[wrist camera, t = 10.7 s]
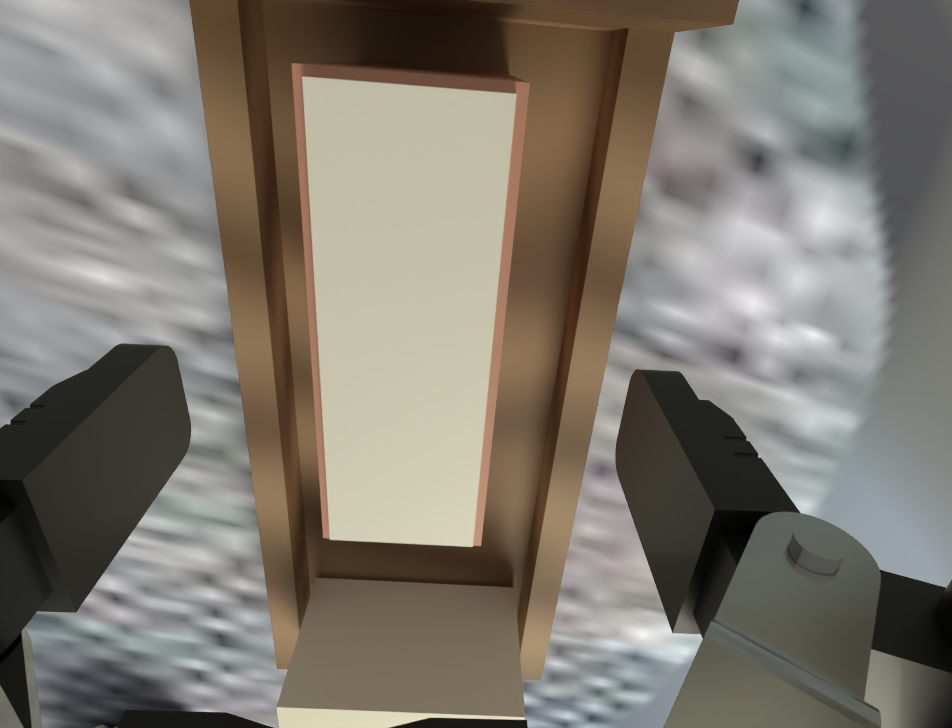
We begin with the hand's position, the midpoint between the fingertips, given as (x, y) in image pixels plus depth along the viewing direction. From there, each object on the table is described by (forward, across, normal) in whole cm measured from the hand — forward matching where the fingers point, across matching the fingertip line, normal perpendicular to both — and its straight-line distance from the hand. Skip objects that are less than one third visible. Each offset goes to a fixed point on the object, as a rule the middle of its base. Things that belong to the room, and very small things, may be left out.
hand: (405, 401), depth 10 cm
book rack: (+12, 0, +6) cm, 13 cm away
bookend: (+10, 0, +17) cm, 20 cm away
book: (+10, 0, +1) cm, 10 cm away
